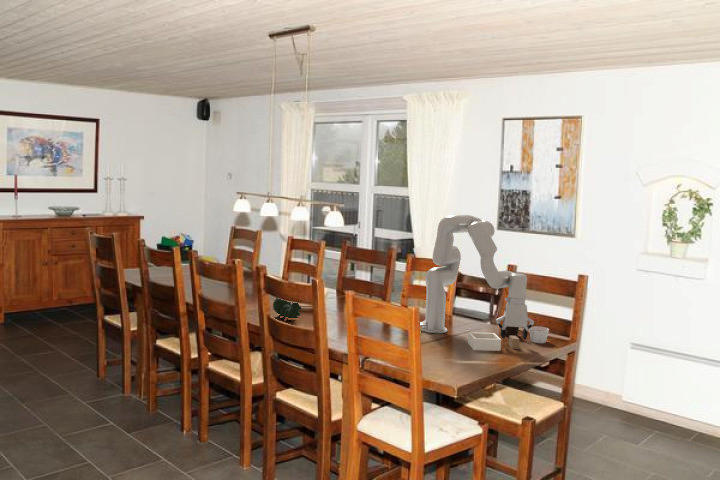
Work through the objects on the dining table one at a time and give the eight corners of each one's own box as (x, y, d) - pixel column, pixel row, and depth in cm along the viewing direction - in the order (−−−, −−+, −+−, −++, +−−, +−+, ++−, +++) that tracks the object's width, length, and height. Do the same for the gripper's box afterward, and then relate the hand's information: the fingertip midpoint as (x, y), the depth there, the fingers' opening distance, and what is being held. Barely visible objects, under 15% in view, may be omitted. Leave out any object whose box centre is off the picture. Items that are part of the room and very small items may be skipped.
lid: (504, 353, 302) (504, 340, 301) (497, 346, 313) (498, 333, 313) (530, 354, 302) (531, 340, 302) (522, 347, 314) (523, 334, 314)
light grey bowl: (552, 343, 321) (553, 330, 321) (536, 344, 318) (537, 331, 317) (540, 338, 330) (541, 326, 329) (524, 340, 326) (525, 327, 325)
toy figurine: (304, 326, 344) (283, 312, 364) (307, 290, 340) (285, 278, 361) (287, 328, 339) (266, 313, 359) (290, 291, 335) (269, 279, 356)
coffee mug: (519, 340, 325) (521, 319, 324) (501, 338, 327) (502, 318, 326) (519, 334, 337) (520, 314, 336) (501, 333, 339) (502, 313, 338)
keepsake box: (473, 352, 300) (474, 338, 299) (467, 345, 312) (468, 332, 311) (500, 352, 300) (501, 339, 300) (493, 345, 312) (494, 332, 312)
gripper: (499, 302, 302) (496, 339, 303) (538, 303, 303) (535, 341, 304) (495, 298, 309) (492, 335, 311) (532, 300, 310) (529, 336, 312)
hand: (513, 338), depth 308 cm, fingers open, 9 cm apart
